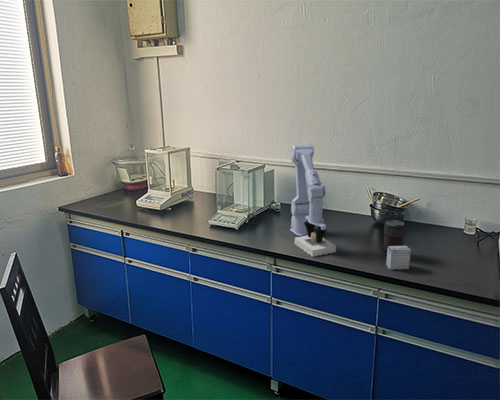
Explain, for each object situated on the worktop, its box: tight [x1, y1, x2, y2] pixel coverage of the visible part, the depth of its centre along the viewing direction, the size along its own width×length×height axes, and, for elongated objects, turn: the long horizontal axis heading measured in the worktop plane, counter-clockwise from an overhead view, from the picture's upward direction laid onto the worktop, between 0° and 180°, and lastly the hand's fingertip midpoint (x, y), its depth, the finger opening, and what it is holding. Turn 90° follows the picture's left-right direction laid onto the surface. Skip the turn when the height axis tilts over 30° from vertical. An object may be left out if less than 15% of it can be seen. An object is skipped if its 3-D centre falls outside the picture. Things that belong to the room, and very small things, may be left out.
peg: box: [311, 231, 317, 244], centre depth 182 cm, size 4×4×7 cm
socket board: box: [294, 235, 337, 258], centre depth 183 cm, size 16×12×3 cm
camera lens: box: [382, 219, 406, 258], centre depth 172 cm, size 8×8×15 cm
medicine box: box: [385, 245, 412, 271], centre depth 162 cm, size 8×4×9 cm, turn 92°
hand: (314, 239), depth 182 cm, fingers open, 7 cm apart
